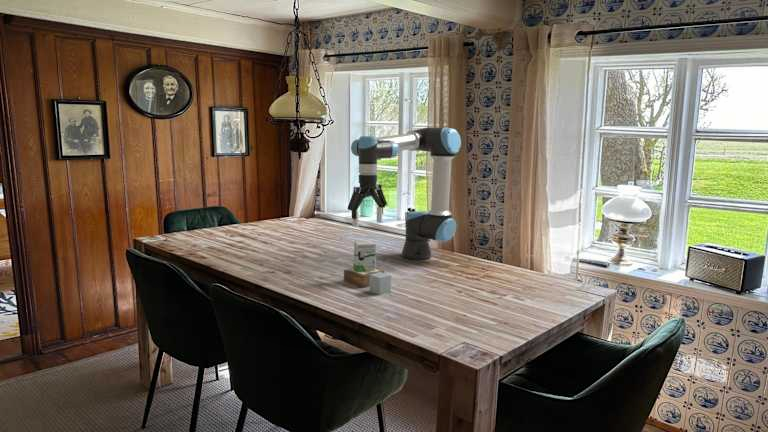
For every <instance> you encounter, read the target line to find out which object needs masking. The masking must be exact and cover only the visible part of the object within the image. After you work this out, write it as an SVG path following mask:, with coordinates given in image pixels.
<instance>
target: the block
mask: <svg viewBox="0 0 768 432" xmlns="http://www.w3.org/2000/svg"><path fill="white" fill-rule="evenodd" d="M391 285H392V275H391V274H388V273H386V272H384V273H382V272H378V273H374V274H370V279H369V287H368V288H369V290H368V292H370V293H373V294H375V295H378V296H382V295H385V294H388V293H391V292H392V291H391V288H392V286H391Z"/></svg>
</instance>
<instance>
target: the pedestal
mask: <svg viewBox="0 0 768 432" xmlns="http://www.w3.org/2000/svg"><path fill="white" fill-rule="evenodd" d="M378 272H382V273H385V270H382V269H379V268H376V267H375V271H360V272H356V271H355V270H354V269H353V267H352V268H347V269H344V270H343V282H345V283H348V284H351V285H353V286H355V287H359V288H362V289H365V288H369V279H370V274H374V273H378Z"/></svg>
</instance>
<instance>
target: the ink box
mask: <svg viewBox="0 0 768 432" xmlns="http://www.w3.org/2000/svg"><path fill="white" fill-rule="evenodd" d="M376 254H377V243H376V242H375V241H373V240H368V241H367V240H366V241H365V240H364V241H360V240H359V241H354V242H353V267H352V268H353V269H354V270H355V271H356V272H360V271H375V268H376V265H377V264H376V260H377V259H376V256H377V255H376Z"/></svg>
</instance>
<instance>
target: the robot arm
mask: <svg viewBox="0 0 768 432" xmlns="http://www.w3.org/2000/svg"><path fill="white" fill-rule="evenodd" d="M461 147H462V139H461V135H460V133H458V131H457V130H456V129H455V128H450V127H431V126H430V127H423V128H419V129H418V128H417V129H415V130H409V131H406V133H402V134H394V135H393V134H392V135H388V136H387V135H386V136H381V137H380V136H378V137H377V136H376V135H371V136H369V135H362V136H360V137H359V138H357V139H354V140H353V141H352V143H351V145H350V151H351V153H352V154H353V156H355V157H358V173H359V175H358V183H359V186H353V190H352V191H353V192H352V195H351V197H350V200H349V203H348V206H347V210H348V211H351V220H352V227H354V228H359V211H358V209H359V208H360V206H361V204H362V203H363V201H364V200H365V198H367V197H368V198H369V197H372V198H371V199H373V200H374V202H375V203H376V205H377V206H376V223H380V224H381V223H383V214H384V208H385V207H386V206H387V205H388V202H387V199H386V197H385V194H384V192H383V186H382V184H378V175H377V173H378V160H379V159H393V158H396V157H397V156H398V155H399V152H401V151H407V150H409V151H411V152H413V151H414V152H415V151H418V152H419V151H422V152H429V153H430V157H431V159H433V161H432V162H433V163H432V180H431V181H432V185H431V202H430V203H431V204H430V209H429V210H428V211H427V210H422V211H421V210H419V211H411V212H410V211H409V212H408V213H406V217H405V241H404V245H403V247H402V250H401V257H402V258H403V259H406V260H413V261H414V260H416V261H423V260H425V261H426V260H430V259H431V258H432V250H431V247H430V243H429V240H431V241H432V240H433V241H437V242H444V243H447V242H448V241H450V240H451V239H453V237H454V235H455V234H456V231H457V223H456V220H455V219H454V218H452V217H453V215H452V212H451V211H450V196H451V181H452V180H451V179H452V178H451V176H452V161H453V159H455V158H456V154H457V153H458V152H459V151H460V149H461Z"/></svg>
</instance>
